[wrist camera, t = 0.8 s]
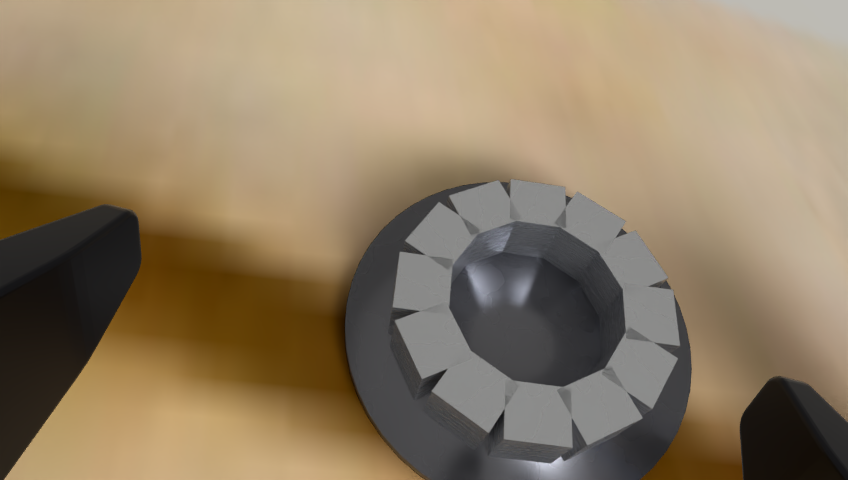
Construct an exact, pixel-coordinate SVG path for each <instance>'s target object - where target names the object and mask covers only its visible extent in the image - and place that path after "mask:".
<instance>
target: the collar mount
mask: <svg viewBox="0 0 848 480" xmlns="http://www.w3.org/2000/svg"><path fill="white" fill-rule="evenodd" d="M625 222H626V221H624V220H623V219H621V218H619V217H618V216H616V215H615V214H613V213H611V212H610V211H608V210H606V209H605V208H603V207H602V206H600V205H598V204H597V203H595V202H593V201H592V200H590V199H589V198H587V197H585V196H584V195H582V194H581V193H579V192H576V194H575V195H574V197H573V198H570V197H568V196H565V187H561V186H555V185H548V184H541V183H534V182H527V181H521V180H514V179H511V180H510V182H509V183H505V182H500V181H499V180H497V181H494V182H490V183H477V184H469V185H463V186H459V187H455V188H451V189H447V190H444V191H442V192H439V193H436V194H434V195H431V196H428V197H427V198H425V199H423V200H421V201H419V202H417V203H415V204H414V205H412V206H410V207H409V208H407V209H406V210H405V211H403V212H402V213H400V214H399V215H398V216H396V217H395V218H394V219H393V220H392V221H391V222H390V223H389V224H388V225H387V226H386V227H385V228H384V229H382V231H381V232H380V233H379V234H378V236H377V237H376V238H375V239H374V241H373V242H372V243H371V244H370V246H369V247H368V249H367V251H366V253H365V254H364V256H363V258H362V259H361V261H360V263H359V266H358V268H357V270H356V273H355V275H354V278H353V280H352V284H351V288H350V292H349V296H348V300H347V308H346V318H345V344H346V355H347V360H348V365H349V371H350V375H351V378H352V381H353V384H354V387H355V390H356V393H357V396H358V398H359V400H360V402H361V404H362V406H363V408H364V410H365V412H366V414H367V416H368V418H369V420H370V421H371V423H372V424H373V426H374V427H375V429H376V430H377V432H378V433H379V435H380V436H381V438H382V439H383V440H384V441H385V442H386V444H387V445H388V446H389V447H390V448H391V449H392V450H393V452H394V453H395V454H396V455H397V456H398V457H399V458H400V459H401V460H402V461H403V462H404V463H405V464H406V465H408V466H409V467H410V468H411V469H412V470H413V471H414V472H416V473H417V474H418V475H419V476H421V477H422V478H424V479H425V480H640V479H641V478H642V477H643V476H644V475H645V474H646V473H647V472H649V471H650V470H651V469H652V468H653V467H654V466H655V464H656V463H657V462H658V461H659V459H660V458H661V457H662V456H663V455H664V453H665V452H666V451H667V449H668V448H669V446H670V444H671V442H672V441H673V439H674V437H675V435H676V434H677V432H678V429H679V427H680V424H681V422H682V419H683V416H684V414H685V411H686V407H687V402H688V397H689V393H690V384H691V370H692V368H691V353H690V344H689V339H688V334H687V329H686V325H685V322H684V319H683V316H682V313H681V310H680V307H679V305H678V303H677V301H676V298H675V296H674V292H673V290H671V288H670V286H669V284H668V283H667V281H666V280H667V279H668V277H667V275H666V274H665V272H664V271H663V269H662V268H661V266H660V265H659V264H658V262H657V261H656V259H655V258H654V256H653V255H652V253H651V252H650V251H649V249H648V248H647V246H646V245H645V243H644V242H643V240H642V239H641V238H640V236H639V235H638V233H637V232H636V230H635V231H633V232H630V233H626V232H625V231H624V230H623V229H621V228H622V227H623V225H624V224H625Z"/></svg>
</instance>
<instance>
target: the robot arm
mask: <svg viewBox="0 0 848 480" xmlns="http://www.w3.org/2000/svg"><path fill="white" fill-rule="evenodd" d="M140 264H141V245H140V233H139V222H138V217H137V215H136V213H135V212H133V211H132V210H129V209H125V208H121V207H118V206H114V205H108V204H104V205H100V206H97V207H94V208H91V209H88V210H85V211H82V212H80V213H77V214H74V215H71V216H68V217H65V218H62V219H59V220H56V221H53V222H51V223H48V224H45V225H42V226H39V227H36V228H33V229H30V230H27V231H24V232H22V233H19V234H16V235H13V236H10V237H7V238H4V239H1V240H0V480H4V479H5V477H6V476H7V475H8V473H9V472H10V471H11V469H12V468H13V466H14V465H15V464H16V462H17V461H18V459H19V458H20V457H21V455H22V454H23V452H24V451H25V450H26V448H27V447H28V445H29V444H30V443H31V441H32V440H33V438H34V437H35V436H36V434H37V433H38V431H39V430H40V429H41V427H42V426H43V424H44V423H45V422H46V420H47V419H48V417H49V416H50V415H51V413H52V412H53V411H54V409H55V408H56V406H57V405H58V404H59V402H60V401H61V399H62V398H63V397H64V395H65V394H66V392H67V391H68V390H69V388H70V387H71V385H72V384H73V383H74V381H75V380H76V378H77V377H78V376H79V374H80V373H81V371H82V370H83V368H84V367H85V365H86V364H87V362H88V361H89V359H90V357H91V356H92V354H93V352H94V351H95V349H96V347H97V345H98V344H99V342H100V340H101V338H102V336H103V335H104V333H105V331H106V329H107V327H108V326H109V324H110V322H111V320H112V318H113V317H114V315H115V313H116V311H117V309H118V308H119V306H120V304H121V302H122V300H123V299H124V297H125V295H126V293H127V291H128V290H129V288H130V286H131V284H132V282H133V281H134V279H135V277H136V275H137V273H138V271H139V268H140ZM740 440H741V454H742V469H743V480H848V422H847V421H846V420H845V419H844V418H843V417H842V416H841V415H840V414H839V413H837V412H836V411H835V410H834V409H833V408H832V407H831V406H830V405H829V404H828V403H827V402H826V401H825V400H824V399H823V398H822V397H821V396H820V395H819V394H818V393H817V392H816V391H815V390H814V389H813V388H812V387H811V386H809V385H808V384H806V383H804V382H802V381H798V380H794V379H790V378H786V377H782V376H775V377H773V378H771V379H769V381H768V382H767V383H766V384H765V385H764V387H763V388H762V389H761V390H760V392H759V393H758V394H757V396H756V397H755V398H754V399H753V401H752V402H751V403H750V405H749V406H748V407H747V408H746V410H745V411H744V413H743V415H742V418H741V422H740Z"/></svg>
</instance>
